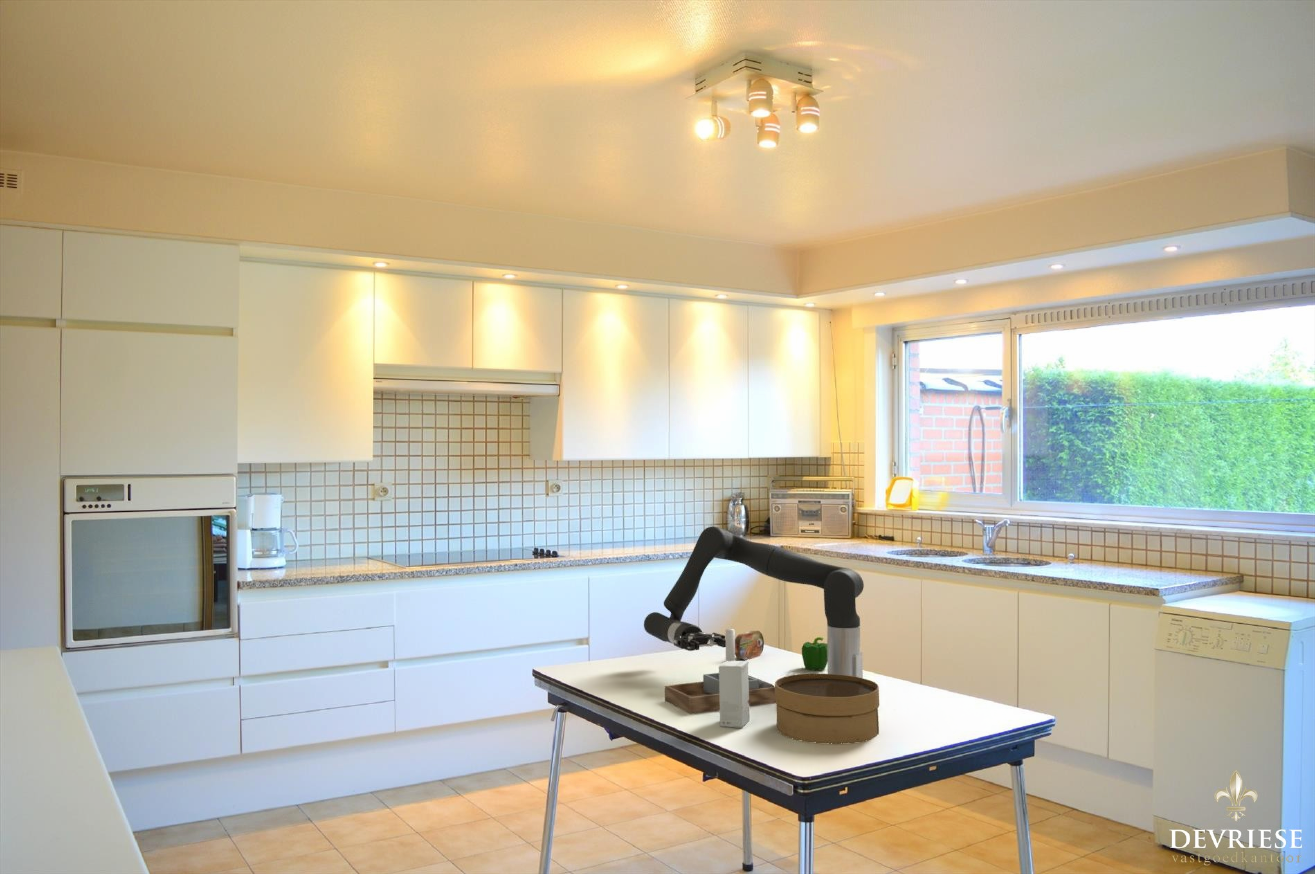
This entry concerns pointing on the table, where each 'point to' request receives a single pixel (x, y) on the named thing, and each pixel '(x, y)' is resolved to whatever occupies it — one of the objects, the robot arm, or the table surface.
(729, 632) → the tray with upright post
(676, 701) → the bay
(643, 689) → the table surface
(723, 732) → the table surface
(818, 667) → the bell pepper
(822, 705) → the steamer basket
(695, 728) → the table surface
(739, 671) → the skincare box
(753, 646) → the tin
